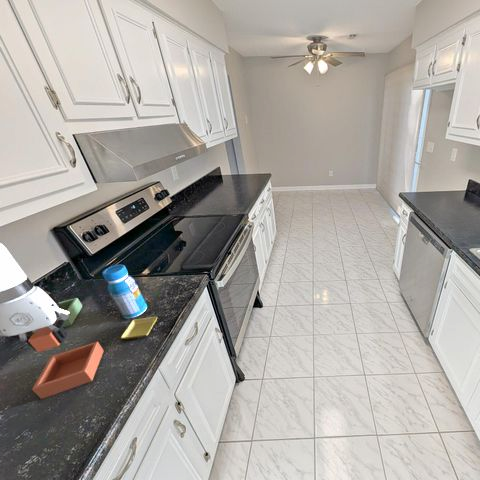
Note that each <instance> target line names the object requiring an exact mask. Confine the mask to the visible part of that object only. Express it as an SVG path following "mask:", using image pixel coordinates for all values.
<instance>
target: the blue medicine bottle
mask: <svg viewBox="0 0 480 480" xmlns="http://www.w3.org/2000/svg"><path fill="white" fill-rule="evenodd" d="M102 276H103V279H104V280H105V281H106V282H107V291H108V292H109V295H110V297H111V298H112V299H113V301H114V303H115V305H116V306H117V308H118V310H119V311H120V313H121V316H122V317H123V318H124V319H134V318H137V317H138V316H140V315H142V314H144V312H146V310H147V308H148V304H147V302H146V301H145V299H144V297H143V295H142V293H141V290H140V288H139V285H138V283H136V280H135V278H134V277H133V276H131V275H129V272H128V269H127V267H126V265H124V264H120V263H119V264H115V265H111V266H108V267H107V268H105V269H104V270H103V271H102Z"/></svg>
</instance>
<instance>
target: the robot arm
mask: <svg viewBox="0 0 480 480" xmlns="http://www.w3.org/2000/svg"><path fill="white" fill-rule="evenodd" d="M43 290H44V289H42V288H41V287H39V286H38V285H37V286H35V285H34V284H33V282H32V281H31V280H30V278H29V277H28V276H27V274H26V273H25V271H24V270H23V269H22V267H21V266H20V264H19V263H18V262H17V261H16V259H15V258H14V257H13V256H12V254H11V252H10V251H9V250H8V249H7V247H6V246H5V245H4V244H3V243H1V242H0V337H11V338H14V339H19V340H20V341H22V342H26V343H27V344H28V345H29V346H30V348H32V349H33V350H34V351H35V352H37V351H36V349H35V348H34V347H33V346H32V345H31V344H30V342H29V341H28V340H29V339H30V337H31V336H32V335H33V333H34V332H32V331H33V330H36V329H40V328H43V327H48V328H50V329H51V330H53V333H52V334H53V335H54V337H55V338H56V339H57V340H58V342H59V343H60V344H62V343H64V342H65V341H66V338H67V337H68V332H67V331H66V329H65V327H62V324H63V323H64V322H65V321H66V320H67V319H68V318H69V316H70V315H71V312H68V311H65V310H63V309H60V308H59V307H58V306H57V305H56V303H55V302H54V301H53V300H52V299H51V298H50V297H49V296H48V295H47V294H46V293H45V292H44V291H43ZM57 315H58V316H60V317H61V318H60V319H58V318H57V317H56V316H57ZM55 324H56V325H55Z"/></svg>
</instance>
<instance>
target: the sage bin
mask: <svg viewBox="0 0 480 480" xmlns="http://www.w3.org/2000/svg"><path fill="white" fill-rule="evenodd" d="M57 302H58V303H59V305H60V306H61V308H62V309H63V310H65V311H68V312H71V315H70V316H69V318H68V319H67V320H66V321H65V322H64V323H63V324H62V327H63V328H66V327H69V326H72V325H73V323H74V321H75V319H76V318H77V316H78V314H79V313H80V311H81V310H82V308H83V304H82V303H81V301H80V300H79V298H78V297H75V298H70V299H65V300H63V301H57ZM57 318H58V319H60V318H61V317H57ZM35 331H36V330H33V331H32V332H35Z"/></svg>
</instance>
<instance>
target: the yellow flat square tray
mask: <svg viewBox="0 0 480 480" xmlns="http://www.w3.org/2000/svg"><path fill="white" fill-rule="evenodd" d="M157 320H158V316H150V317H141V318H135V319H134V318H133V319H132V320H131V321H130V323H129V324H128V326H127V327H126V329H125V330H124V332H123V333H122V335H121V336H120V339H123V340H129V339H136V338H145V337H147V336H148V335H150V332H151V330H152V328H153V327H154V325H155V324H156V322H157Z"/></svg>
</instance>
